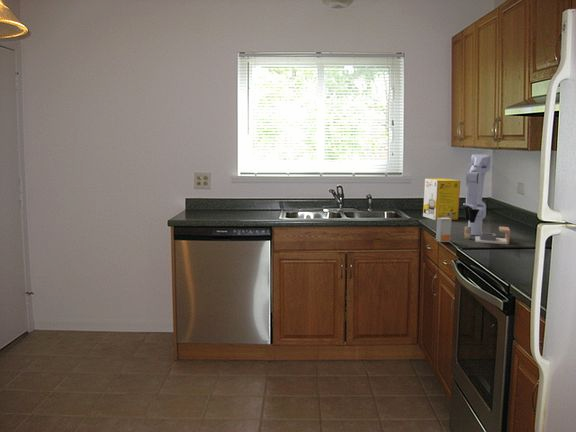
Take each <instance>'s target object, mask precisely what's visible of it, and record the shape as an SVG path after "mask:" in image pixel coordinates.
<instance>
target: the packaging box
mask: <svg viewBox="0 0 576 432" xmlns="http://www.w3.org/2000/svg"><path fill="white" fill-rule="evenodd" d="M460 190H461V180H458V179H452V178H424V192H423V193H424V194H423V209H422V217H425V218H427V219H430V220H433V221H437V218H451V219H452V220H453V221H455V220H458V219H459V207H460Z"/></svg>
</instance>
